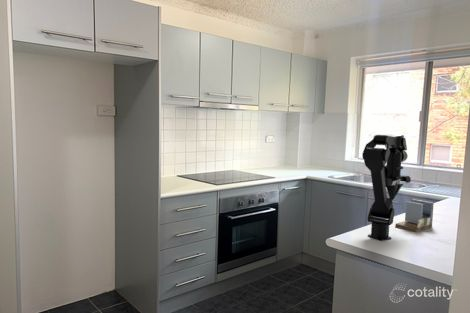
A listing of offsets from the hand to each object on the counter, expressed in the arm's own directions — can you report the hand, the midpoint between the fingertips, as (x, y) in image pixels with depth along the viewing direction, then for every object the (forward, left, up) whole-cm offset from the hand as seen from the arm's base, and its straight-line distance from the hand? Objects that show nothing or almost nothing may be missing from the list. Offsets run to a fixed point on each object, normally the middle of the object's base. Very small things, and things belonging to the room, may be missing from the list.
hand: (391, 199), depth 153 cm
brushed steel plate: (+19, 0, -11) cm, 23 cm away
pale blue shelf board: (+14, -2, -11) cm, 18 cm away
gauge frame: (+13, -1, -13) cm, 19 cm away
